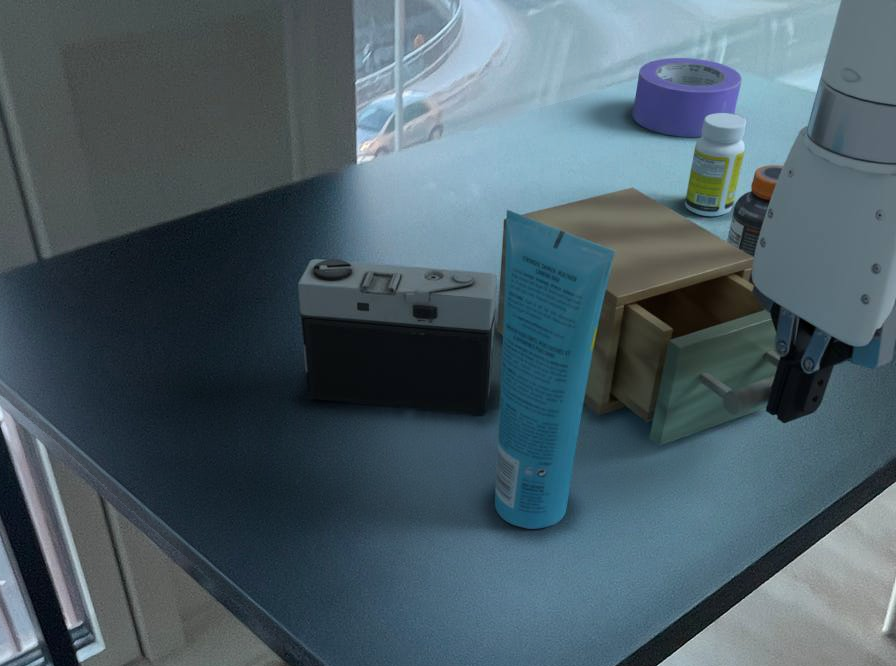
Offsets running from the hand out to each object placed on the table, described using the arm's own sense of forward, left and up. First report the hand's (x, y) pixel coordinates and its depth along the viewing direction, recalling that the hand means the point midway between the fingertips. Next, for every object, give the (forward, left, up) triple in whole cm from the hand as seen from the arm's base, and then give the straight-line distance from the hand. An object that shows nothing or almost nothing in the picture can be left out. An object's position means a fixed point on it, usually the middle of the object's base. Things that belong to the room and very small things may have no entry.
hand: (790, 411), depth 68 cm
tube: (+17, -5, -6) cm, 18 cm away
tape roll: (-40, -58, -6) cm, 71 cm away
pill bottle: (-16, -20, -6) cm, 26 cm away
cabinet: (0, -19, -5) cm, 20 cm away
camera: (+17, -23, -6) cm, 29 cm away
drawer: (0, -10, -4) cm, 11 cm away
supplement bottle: (-26, -37, -6) cm, 46 cm away
